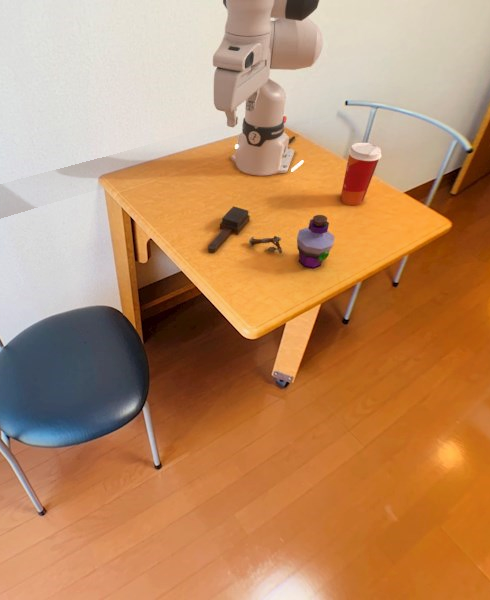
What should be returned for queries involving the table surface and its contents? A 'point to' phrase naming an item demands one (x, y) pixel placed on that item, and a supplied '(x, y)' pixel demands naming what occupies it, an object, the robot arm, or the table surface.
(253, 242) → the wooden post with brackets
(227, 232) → the mallet
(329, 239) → the potion bottle
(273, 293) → the table surface
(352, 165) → the coffee cup
